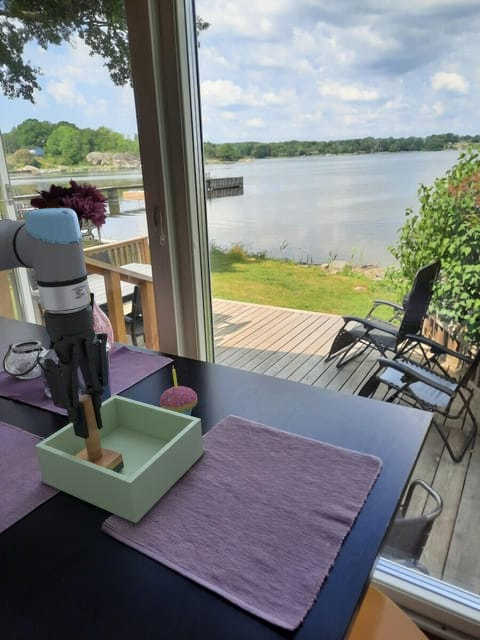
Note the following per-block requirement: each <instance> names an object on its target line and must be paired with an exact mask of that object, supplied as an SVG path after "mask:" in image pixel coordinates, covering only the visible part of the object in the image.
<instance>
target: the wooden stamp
mask: <svg viewBox="0 0 480 640" xmlns="http://www.w3.org/2000/svg"><path fill="white" fill-rule="evenodd" d="M79 403H80V404H83V405H84V410H85V416H86V421H87V427H88V433H89V437H88V438H87V439H84V440H85V445H86V448H85V449H83V450H82V451H81V452H79V453H78V454H76V455H75V457H78V458H80V459H83V460H86V461H88V462H91V463H93V464H96V465H99V466H101V467H104V468H106V469H109V470H111V471H114V472H117V473H118V472H119V471H120V470H121V469H123V468H124V463H123V458H122V454H121V453H118V452H115V451H111V450H108V449H105V448H102V446H101V441H100V437H99V432H98V427H97V422H96V417H95V412H94V408H93V403H92V398H91V395H88V394H86V395H81V396H80V395H79Z"/></svg>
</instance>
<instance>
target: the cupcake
mask: <svg viewBox="0 0 480 640" xmlns="http://www.w3.org/2000/svg"><path fill="white" fill-rule="evenodd" d="M172 378H173V385H174V386H172V387H170V388H167V389H165V390H164V392H162V394H160V396H159V407H160V408H164V409H167V410H171V411H174V412H178V413H181V414H185V415H189V416H191V414H192V410H193V408H195V407H196V406H197V404H198V394H197V392H196V391H194V389H192V388H191V387H189V386H184V385H178V380H177V372H176V369H175V366H174V365H172Z"/></svg>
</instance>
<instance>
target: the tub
mask: <svg viewBox="0 0 480 640" xmlns="http://www.w3.org/2000/svg"><path fill="white" fill-rule="evenodd" d="M100 413H101V419H102V425H103V428H101V429H98V432H99V437H100V441H101V446H102V448H105V449H108V450H111V451H115V452H118V453H121V454H122V458H123V463H124V468H123V469H121V470H120V471H119V472H118V473H117V472H114V471H111V470H109V469H106V468H104V467H101V466H99V465H96V464H93V463H91V462H88V461H86V460H83V459H80V458H78V457H75V455H76V454H78V453H79V452H81V451H82V450H83V449H85V448H86V445H85V440H84V438H81V437H78V436H75V433H74V427H73V423H70V422H69V423H68V424H67V425H65V426H63V427H62V428H60V429H59V430H57V431H56V432H54V433H52V434H51V435H49V436H48V437H46V438H45V439H43V440H42V441H40V442H38V443H37V444H36V445H34V447H35V452H36V457H37V461H38V464H39V469H40V473H41V477H42V483H44V484H46V485H48V486H51V487H53V488H55V489H57V490H59V491H62V492H64V493H67V494H68V495H71V496H73V497H75V498H78V499H80V500H82V501H84V502H86V503H89V504H90V505H93V506H96V507H97V508H100V509H103V510H104V511H106V512H109V513H111V514H113V515H116V516H118V517H121V518H123V519H124V520H128V521H130V522H131V523H134V524H137V523H138V522H139V521H140V520H141V519H142V518H143V517H144V516H145V515H146V514H147V513H148V512H149V511H150V510H151V509H152V507H154V506H155V504H156V503H158V502H159V500H160V499H161V498H162V497H163V496H164V495H166V493H167V492H168V491H169V490H170V489H171V488H172V487H173V486H174V485H175V484H176V483H177V482H178V481H179V479H180V478H182V477H183V476H184V475H185V473H187V471H188V470H189V469H190V468H191V467H193V465H194V464H195V463H196V462H197V461H198V460H199V459H200V458H201V457H202V456H203V454H204V444H203V432H202V431H203V430H202V419H201V418H199V417H195V416H192V415H190V416H189V415H185V414H181V413H178V412H174V411H171V410H167V409H164V408H161V406H156V405H152V404H150V403H145V402H142V401H140V400H139V401H138V400H135V399H131V398H128V397H125V396H120V395H116V394H114V395H111V398H109V399H108V400H106V401H104V402H103V403H102V407H101V408H100Z"/></svg>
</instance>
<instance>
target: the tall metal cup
mask: <svg viewBox="0 0 480 640" xmlns="http://www.w3.org/2000/svg"><path fill="white" fill-rule="evenodd" d="M90 298H91V301H90V303H89V304H90V305H91V306H92V310H93V313H94V310H95V309H94V308H95V293H94V292H90ZM111 349H112V344H111V342H109V341H107V343H106V357H107V373H108V385H107V386H103V388H102V389H103V390H104V394H103V395H100V397H101V403H103V402H104V401H106V400H108V399H109V398H111V397H112V393H111V392H112V391H111V390H112V389H111V388H112V387H111V355H110V354H111V353H110V351H111ZM77 374H78V392H79V396H81V395H84V394H85V393H89V392H88V391H87V390H86V386H85V383H84V380H83V376H82V373H81V370H80V366H79V368H78V369H77ZM100 378H101V377H100Z"/></svg>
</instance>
